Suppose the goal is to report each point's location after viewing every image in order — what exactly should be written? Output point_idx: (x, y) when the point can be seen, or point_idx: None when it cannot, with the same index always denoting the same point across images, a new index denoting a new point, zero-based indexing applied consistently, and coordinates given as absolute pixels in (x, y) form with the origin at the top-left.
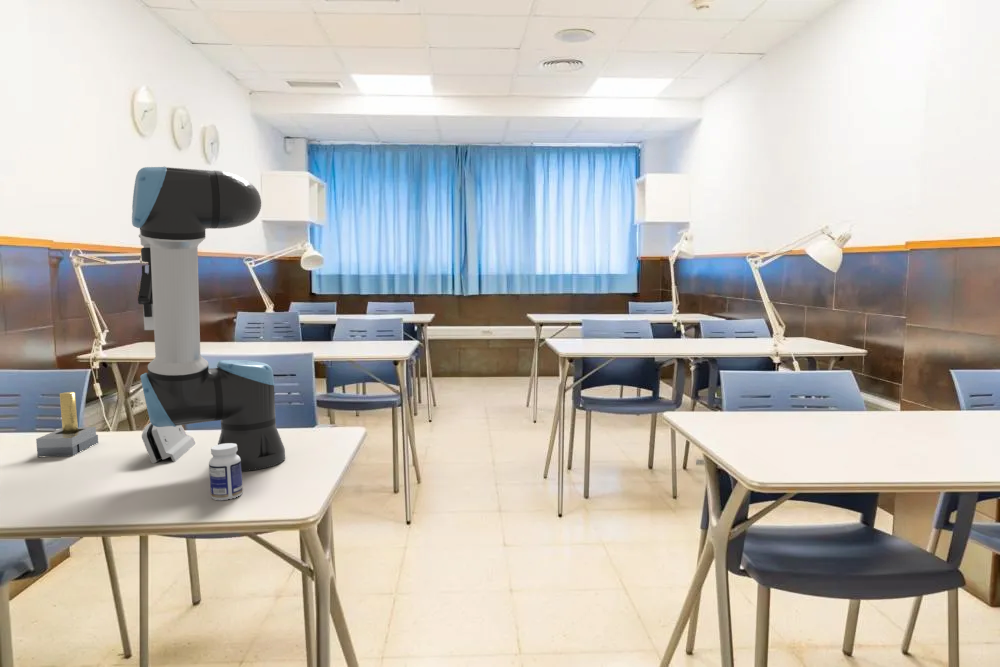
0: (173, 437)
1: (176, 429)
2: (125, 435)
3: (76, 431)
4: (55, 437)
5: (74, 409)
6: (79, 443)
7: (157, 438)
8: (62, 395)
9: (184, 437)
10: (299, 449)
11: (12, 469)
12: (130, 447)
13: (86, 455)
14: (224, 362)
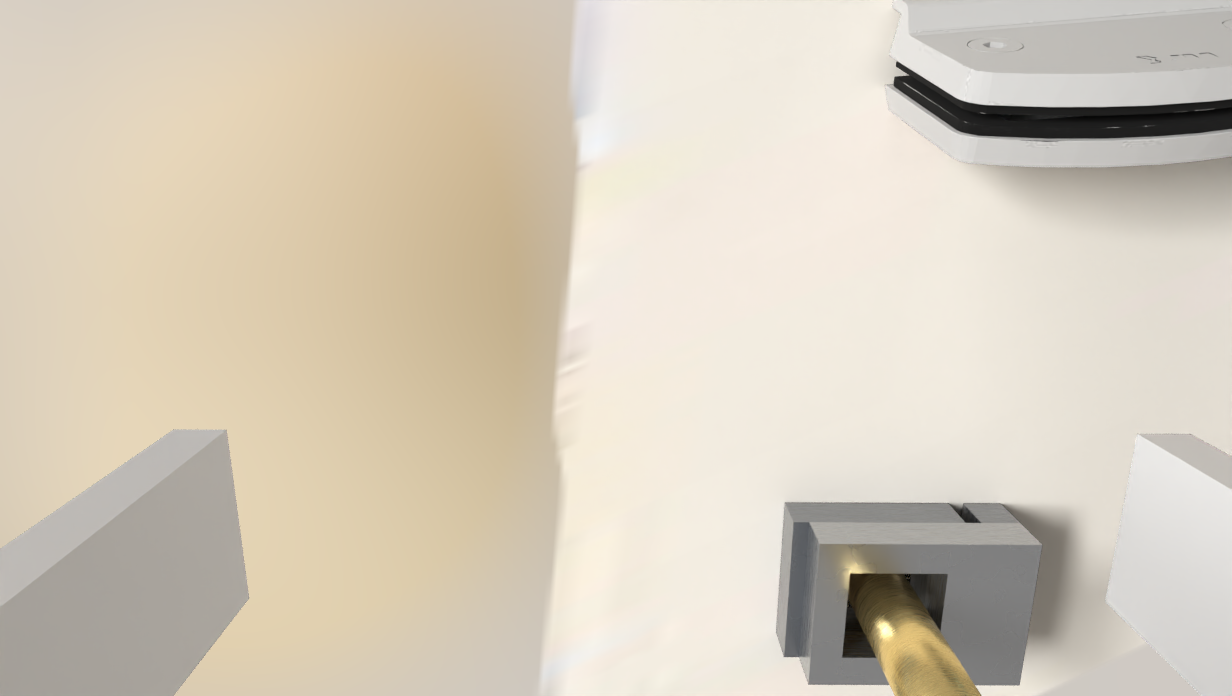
0: (1125, 30)
1: (1047, 44)
2: (645, 446)
3: (900, 587)
4: (1011, 620)
5: (945, 661)
6: (960, 523)
7: None
8: None
9: (960, 30)
10: None
11: None
12: (900, 317)
13: (1003, 452)
14: None
